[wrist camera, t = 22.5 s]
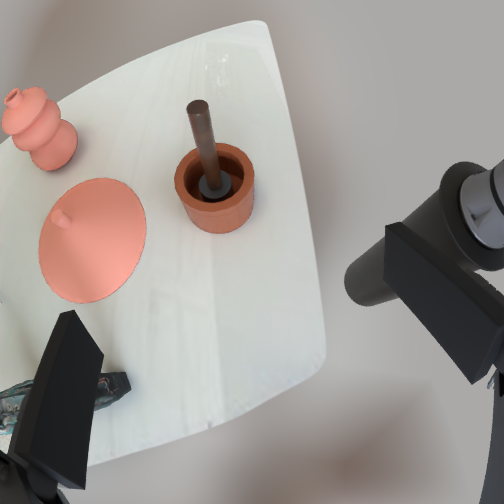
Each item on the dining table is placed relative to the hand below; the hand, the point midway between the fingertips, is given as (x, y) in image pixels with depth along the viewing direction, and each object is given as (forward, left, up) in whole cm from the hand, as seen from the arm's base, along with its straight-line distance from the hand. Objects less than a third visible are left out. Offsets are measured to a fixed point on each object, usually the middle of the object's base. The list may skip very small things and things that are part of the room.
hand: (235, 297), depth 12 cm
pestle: (+11, -14, -29) cm, 34 cm away
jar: (+11, -14, -30) cm, 35 cm away
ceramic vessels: (+34, -4, -30) cm, 46 cm away
